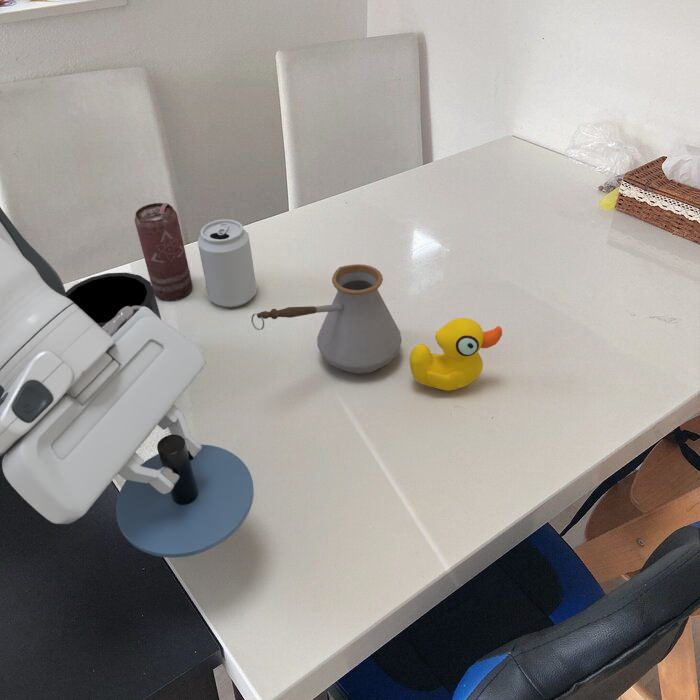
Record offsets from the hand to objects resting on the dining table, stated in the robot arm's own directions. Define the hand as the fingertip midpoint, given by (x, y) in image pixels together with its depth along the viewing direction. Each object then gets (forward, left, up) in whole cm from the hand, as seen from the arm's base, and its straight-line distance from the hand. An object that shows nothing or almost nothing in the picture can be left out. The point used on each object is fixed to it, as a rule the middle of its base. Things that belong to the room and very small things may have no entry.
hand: (183, 471), depth 61 cm
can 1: (+8, +50, -14) cm, 53 cm away
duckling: (+36, +12, -14) cm, 40 cm away
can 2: (+16, +44, -14) cm, 49 cm away
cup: (-2, +33, -14) cm, 36 cm away
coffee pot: (+23, +21, -14) cm, 34 cm away
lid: (0, +1, -4) cm, 4 cm away
